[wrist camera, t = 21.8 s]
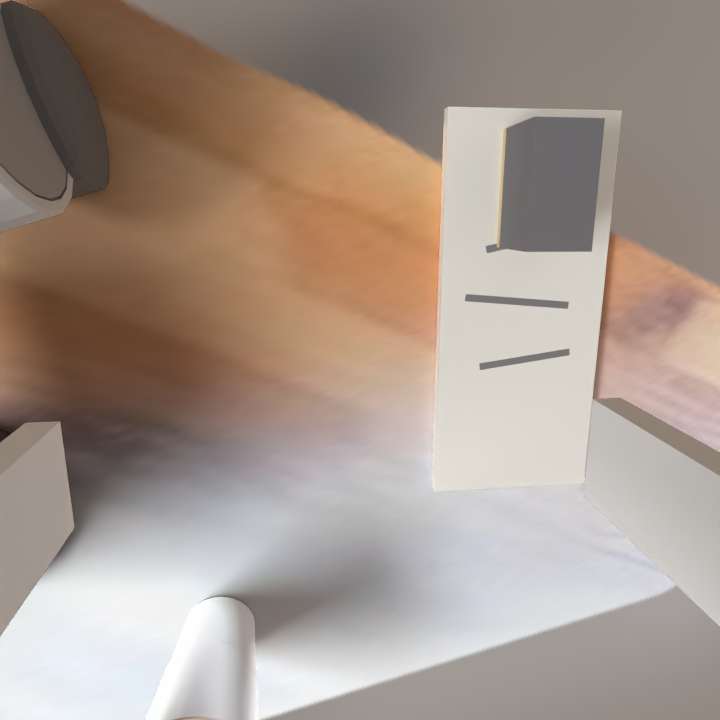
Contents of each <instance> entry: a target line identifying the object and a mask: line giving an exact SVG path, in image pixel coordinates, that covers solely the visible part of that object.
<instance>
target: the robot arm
mask: <svg viewBox="0 0 720 720" xmlns="http://www.w3.org/2000/svg"><path fill="white" fill-rule="evenodd" d="M583 496H584V497H585V498H586V499H587V500H588V501H589V502H590V503H591V504H592V505H593V506H594V507H595V508H596V509H597V510H598V511H599V512H600V513H601V514H602V515H603V516H604V517H606V518H607V519H608V520H609V521H610V522H611V523H612V524H613V525H614V526H615V527H616V528H617V529H618V530H619V531H620V532H621V533H622V534H623V535H624V536H625V537H627V538H628V539H629V540H630V541H631V542H632V543H633V544H634V545H635V546H636V547H637V548H638V549H639V550H640V551H641V552H642V553H643V554H644V555H645V556H646V557H647V558H649V559H650V560H651V561H652V562H653V563H654V564H655V565H656V566H657V567H658V568H659V569H660V570H661V571H662V572H663V573H664V574H665V575H666V576H667V577H668V578H669V579H671V580H672V581H673V582H674V583H675V584H676V585H677V586H678V587H679V588H680V589H681V590H682V591H683V592H684V593H685V594H686V595H687V596H688V597H689V598H691V599H692V600H693V601H694V602H695V603H696V604H697V605H698V606H699V607H700V608H701V609H702V610H703V611H704V612H705V613H706V614H707V615H708V616H709V617H710V618H711V619H713V620H714V621H715V622H716V623H717V624H718V625H719V626H720V452H718V451H716V450H714V449H712V448H711V447H709V446H707V445H705V444H703V443H702V442H700V441H698V440H696V439H694V438H692V437H691V436H689V435H687V434H685V433H683V432H682V431H680V430H678V429H676V428H674V427H673V426H671V425H669V424H667V423H665V422H663V421H662V420H660V419H658V418H656V417H654V416H653V415H651V414H649V413H647V412H645V411H643V410H642V409H640V408H638V407H636V406H634V405H633V404H631V403H629V402H627V401H625V400H623V399H622V398H606V399H593V402H592V412H591V422H590V432H589V442H588V452H587V463H586V473H585V483H584V493H583ZM74 528H75V527H74V519H73V512H72V505H71V497H70V490H69V483H68V475H67V468H66V461H65V453H64V446H63V439H62V431H61V424H60V421H56V422H32V423H24V424H23V425H22V426H21V427H19V428H18V429H17V430H16V431H14V432H13V433H12V434H10V433H7V432H5V431H2V430H0V636H1V635H2V633H3V632H4V630H5V629H6V627H7V626H8V624H9V623H10V621H11V620H12V619H13V617H14V616H15V614H16V613H17V611H18V610H19V608H20V607H21V605H22V604H23V602H24V601H25V600H26V598H27V597H28V595H29V594H30V592H31V591H32V589H33V588H34V586H35V585H36V583H37V582H38V581H39V579H40V578H41V576H42V575H43V573H44V572H45V571H46V570H47V569H48V567H49V566H50V565H51V563H52V562H53V560H54V559H55V557H56V556H57V554H58V553H59V552H60V550H61V548H62V547H63V545H64V543H65V541H66V540H67V538H68V537H69V535H70V534H71V532H72V531H73V529H74Z"/></svg>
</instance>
